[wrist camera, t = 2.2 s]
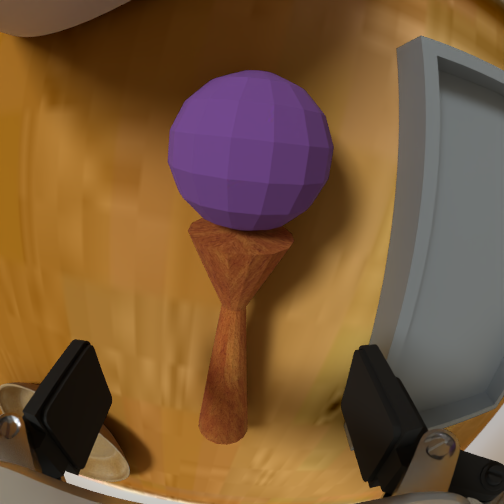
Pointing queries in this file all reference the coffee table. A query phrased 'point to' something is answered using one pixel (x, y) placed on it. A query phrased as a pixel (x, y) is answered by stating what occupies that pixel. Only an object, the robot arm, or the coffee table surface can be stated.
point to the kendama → (244, 207)
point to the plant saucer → (103, 452)
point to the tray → (446, 236)
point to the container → (49, 15)
